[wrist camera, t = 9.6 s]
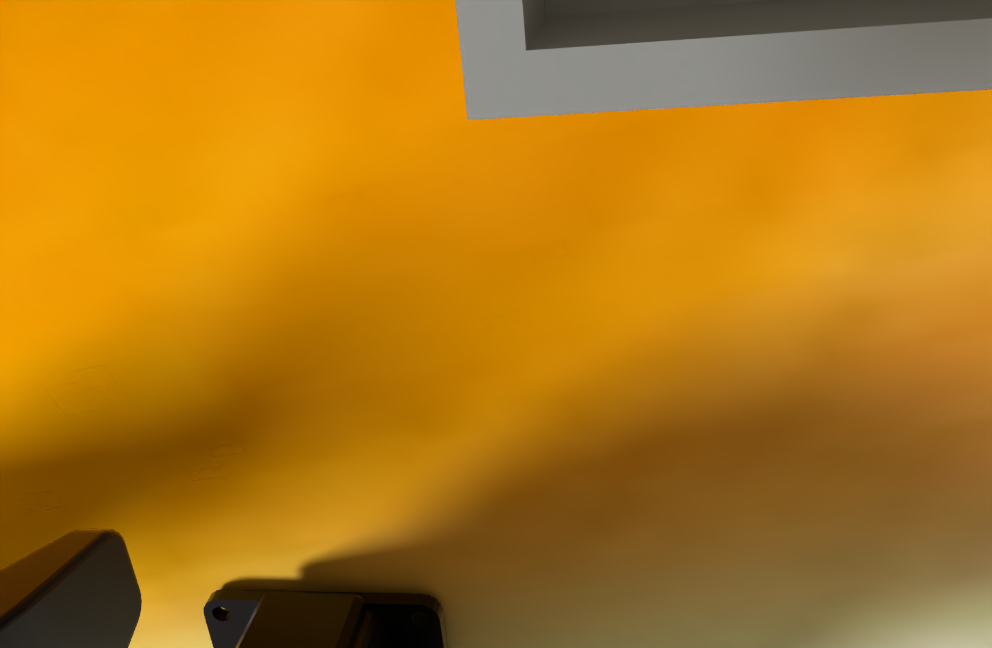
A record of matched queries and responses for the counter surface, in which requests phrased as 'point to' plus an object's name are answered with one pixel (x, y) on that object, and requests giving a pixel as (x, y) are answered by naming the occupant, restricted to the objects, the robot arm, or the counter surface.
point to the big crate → (713, 52)
